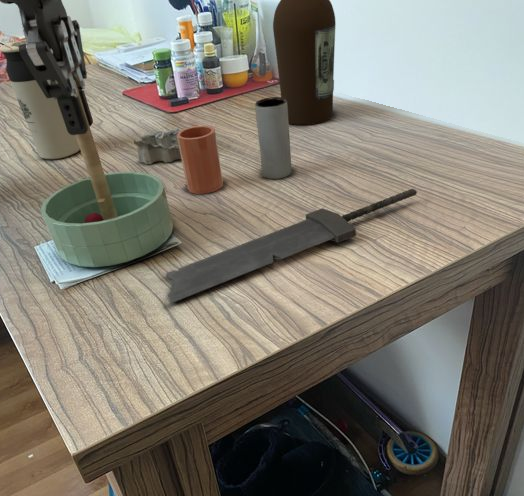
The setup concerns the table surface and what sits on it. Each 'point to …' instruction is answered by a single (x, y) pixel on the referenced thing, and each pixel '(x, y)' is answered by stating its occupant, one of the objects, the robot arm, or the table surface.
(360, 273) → the table surface
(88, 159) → the wooden stick
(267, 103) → the grey tube
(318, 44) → the olive oil
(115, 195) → the bowl
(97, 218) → the bead
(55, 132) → the travel mug
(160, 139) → the egg carton
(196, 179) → the utensil pot
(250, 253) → the toy broadsword
